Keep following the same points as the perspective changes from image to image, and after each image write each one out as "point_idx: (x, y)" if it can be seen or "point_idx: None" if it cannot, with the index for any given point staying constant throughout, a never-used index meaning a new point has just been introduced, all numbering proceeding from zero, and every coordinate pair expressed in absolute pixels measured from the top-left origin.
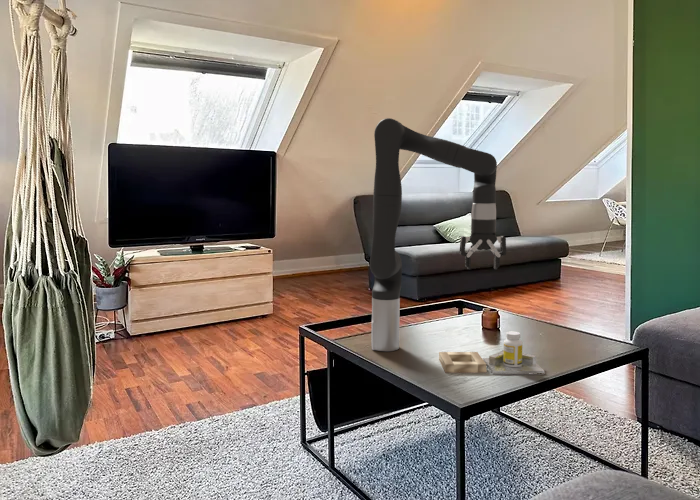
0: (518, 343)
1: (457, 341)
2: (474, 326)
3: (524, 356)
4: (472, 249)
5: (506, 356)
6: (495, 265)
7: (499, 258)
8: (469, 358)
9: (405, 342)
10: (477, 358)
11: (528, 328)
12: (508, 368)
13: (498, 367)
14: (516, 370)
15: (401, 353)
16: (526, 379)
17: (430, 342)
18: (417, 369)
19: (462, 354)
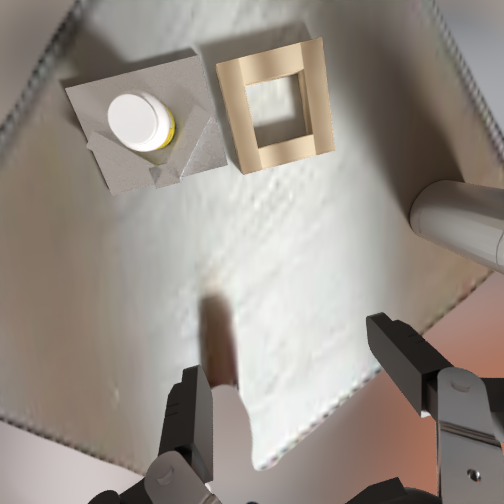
0: (118, 95)
1: (286, 296)
2: (254, 401)
3: (119, 144)
4: (487, 446)
5: (163, 103)
6: (198, 384)
7: (161, 452)
8: (260, 147)
9: (393, 259)
10: (241, 115)
11: (145, 421)
12: (160, 89)
13: (186, 91)
14: (138, 74)
15: (406, 178)
16: (109, 31)
17: (342, 273)
18: (378, 57)
19: (279, 143)
